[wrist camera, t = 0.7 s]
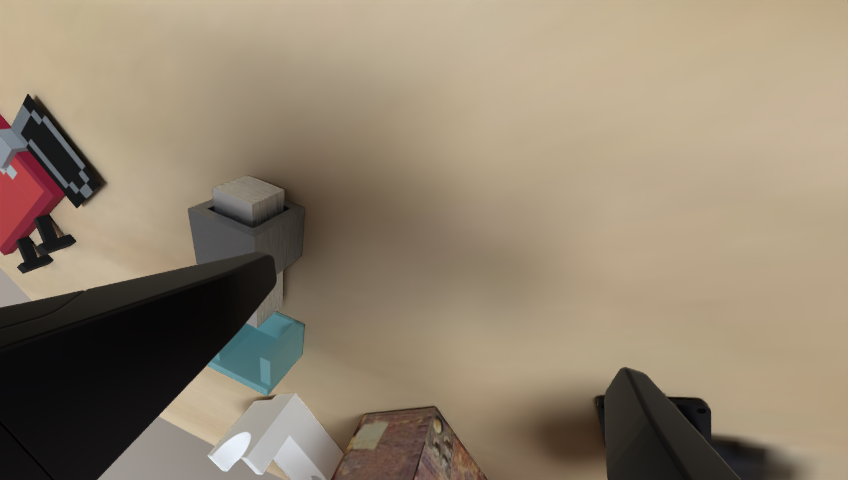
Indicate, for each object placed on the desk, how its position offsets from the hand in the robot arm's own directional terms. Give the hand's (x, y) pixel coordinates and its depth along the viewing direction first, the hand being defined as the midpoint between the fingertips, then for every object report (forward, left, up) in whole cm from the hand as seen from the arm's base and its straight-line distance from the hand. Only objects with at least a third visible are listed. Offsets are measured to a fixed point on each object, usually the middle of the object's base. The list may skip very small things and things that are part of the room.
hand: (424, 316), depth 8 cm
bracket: (-26, +30, -13) cm, 42 cm away
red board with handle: (+12, +49, -13) cm, 52 cm away
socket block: (-9, +24, -12) cm, 29 cm away
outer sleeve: (+1, +17, -13) cm, 21 cm away
